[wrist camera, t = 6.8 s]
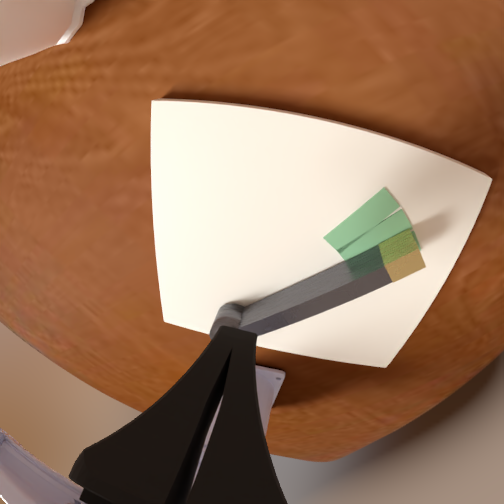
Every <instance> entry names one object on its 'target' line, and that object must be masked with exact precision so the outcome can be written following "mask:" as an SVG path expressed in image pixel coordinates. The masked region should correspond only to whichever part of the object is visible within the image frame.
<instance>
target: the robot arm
mask: <svg viewBox="0 0 504 504" xmlns="http://www.w3.org/2000/svg"><path fill="white" fill-rule="evenodd" d="M257 337H258V335H257V334H256V333H253V332H249V331H245V330H241V329H236V328H232V327H228V326H224V325H222V326H220V327H219V329H218V331H217V332H216V334H215V336H214V337H213V339H212V340H211V342H210V343H209V344H208V346H207V347H206V349H205V350H204V351H203V353H202V354H201V355H200V356H199V358H198V359H197V360H196V361H195V362H194V364H193V365H192V366H191V367H190V368H189V370H188V371H187V372H186V373H185V374H184V375H183V376H182V377H181V378H180V379H179V380H178V381H177V382H176V384H175V385H174V386H173V387H172V388H171V389H170V390H168V391H167V392H166V393H165V394H164V395H163V396H162V397H161V398H160V399H159V400H158V401H156V402H155V403H154V404H153V405H152V406H151V407H149V408H148V409H147V410H146V411H144V412H143V413H142V414H140V415H139V416H138V417H137V418H135V419H134V420H132V421H131V422H130V423H128V424H127V425H125V426H123V427H122V428H121V429H119V430H118V431H116V432H114V433H113V434H111V435H109V436H108V437H106V438H104V439H102V440H100V441H99V442H97V443H95V444H93V445H91V446H89V447H87V448H85V449H84V450H83V451H82V453H81V454H80V455H79V457H78V458H77V460H76V461H75V463H74V465H73V467H72V470H71V472H70V474H69V478H70V479H71V480H72V481H74V482H75V483H76V484H75V483H74V482H72V481H70V480H69V479H67V478H65V477H64V476H62V475H61V474H59V473H58V472H56V471H55V470H53V469H51V468H50V467H48V466H47V465H46V464H44V463H43V462H42V461H40V460H39V459H37V458H36V457H35V456H33V455H32V454H30V453H29V452H28V451H27V450H25V449H24V448H23V447H22V445H21V444H20V443H18V442H17V441H16V440H15V439H14V438H13V437H11V436H10V435H9V434H8V433H6V432H5V431H4V430H2V429H1V428H0V497H2V499H3V500H4V501H5V502H6V503H7V504H81V503H82V504H287V501H286V499H285V497H284V494H283V492H282V489H281V487H280V484H279V481H278V479H277V476H276V473H275V470H274V467H273V463H272V460H271V457H270V454H269V450H268V446H267V442H266V438H265V435H266V431H267V426H268V421H269V416H270V411H271V407H272V405H273V403H274V401H275V399H276V396H277V394H278V392H279V389H280V387H281V385H282V383H283V380H284V378H285V372H284V371H281V370H276V369H271V368H267V367H262V366H257V365H255V356H256V343H257ZM77 484H78V485H77ZM79 485H80V486H79ZM82 487H83V488H82Z"/></svg>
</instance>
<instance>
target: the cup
mask: <svg viewBox="0 0 504 504" xmlns="http://www.w3.org/2000/svg"><path fill="white" fill-rule="evenodd" d="M94 1H95V0H0V66H2V65H5V64H7V63H10V62H13V61H15V60H18V59H21V58H24V57H27V56H30V55H33V54H35V53H38V52H40V51H42V50H45V49H47V48H49V47H52V46H54V45H59V44H64V43H68V42H69V41H70V40H71V38H72V37H73V36H74V34H75V33H76V32H77V31H78V29H79V28H80V27H81V26H82V24H83V18H84V13H85V8H86V7H87V6H88V5H90V4H91V3H93V2H94Z"/></svg>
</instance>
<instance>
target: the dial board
mask: <svg viewBox="0 0 504 504" xmlns="http://www.w3.org/2000/svg"><path fill="white" fill-rule="evenodd" d="M151 182H152V205H153V222H154V236H155V248H156V259H157V269H158V279H159V287H160V295H161V303H162V311H163V318H164V322H167V323H171V324H174V325H178V326H181V327H185V328H188V329H192V330H195V331H199V332H203V333H206V334H209V333H210V330H211V327H212V325H213V322H214V320H215V317H216V315H217V312H218V310H219V308H220V307H221V306H223V305H225V304H239V305H242V306H244V307H245V306H247V305H250V304H252V303H254V302H257V301H259V300H261V299H264V298H266V297H268V296H271V295H273V294H275V293H277V292H280V291H282V290H284V289H286V288H289V287H291V286H293V285H295V284H297V283H300V282H302V281H304V280H306V279H308V278H311V277H313V276H315V275H317V274H319V273H321V272H324V271H326V270H328V269H330V268H332V267H334V266H336V265H338V264H341V263H343V262H345V261H347V260H349V259H351V258H353V257H355V256H357V255H359V254H361V253H363V252H365V251H367V250H369V249H371V248H373V247H375V246H377V245H378V244H380V243H382V242H384V241H386V240H388V239H390V238H392V237H394V236H396V235H398V234H400V233H401V232H403V231H405V230H407V229H410V231H411V233H412V235H413V237H414V239H415V242H416V244H417V246H418V248H419V250H420V253H421V255H422V258H423V260H424V263H425V265H426V267H425V268H423V269H421V270H419V271H417V272H415V273H413V274H411V275H409V276H407V277H405V278H402V279H400V280H398V281H396V282H394V283H393V282H392V283H390V284H388V285H386V286H384V287H381V288H379V289H377V290H375V291H372V292H370V293H368V294H366V295H363V296H361V297H359V298H356V299H354V300H352V301H349V302H347V303H344V304H342V305H340V306H337V307H335V308H332V309H330V310H327V311H325V312H322V313H320V314H317V315H315V316H312V317H310V318H307V319H304V320H302V321H299V322H296V323H294V324H291V325H288V326H286V327H283V328H280V329H277V330H275V331H272V332H269V333H266V334H263V335H260V336H258V337H257V343H256V346H260V347H264V348H269V349H274V350H279V351H284V352H289V353H294V354H299V355H304V356H310V357H315V358H321V359H327V360H333V361H340V362H346V363H353V364H360V365H368V366H375V367H384V368H386V367H387V366H388V365H389V363H390V362H391V361H392V359H393V358H394V357H395V356H396V354H397V353H398V352H399V350H400V349H401V348H402V346H403V345H404V343H405V342H406V341H407V339H408V338H409V337H410V335H411V334H412V332H413V331H414V329H415V328H416V326H417V325H418V324H419V322H420V321H421V319H422V318H423V316H424V315H425V313H426V311H427V310H428V308H429V307H430V305H431V304H432V302H433V300H434V299H435V297H436V296H437V294H438V292H439V291H440V289H441V287H442V285H443V284H444V282H445V280H446V279H447V277H448V275H449V273H450V271H451V270H452V268H453V266H454V264H455V262H456V260H457V258H458V257H459V255H460V253H461V251H462V249H463V247H464V245H465V243H466V241H467V239H468V236H469V234H470V232H471V230H472V228H473V226H474V224H475V221H476V219H477V217H478V214H479V212H480V210H481V207H482V205H483V203H484V200H485V198H486V195H487V192H488V190H489V187H490V184H491V182H492V178H490V177H489V176H488V175H486V174H485V173H483V172H481V171H479V170H477V169H475V168H473V167H471V166H468V165H466V164H464V163H461V162H459V161H457V160H454V159H452V158H450V157H447V156H445V155H442V154H440V153H437V152H434V151H432V150H429V149H426V148H424V147H421V146H418V145H415V144H413V143H410V142H407V141H404V140H401V139H398V138H395V137H392V136H388V135H385V134H382V133H378V132H375V131H372V130H368V129H365V128H361V127H357V126H353V125H350V124H346V123H342V122H338V121H333V120H329V119H325V118H320V117H316V116H311V115H306V114H301V113H296V112H290V111H284V110H279V109H272V108H266V107H259V106H252V105H244V104H236V103H226V102H216V101H204V100H188V99H163V98H160V99H156V100H152V107H151Z"/></svg>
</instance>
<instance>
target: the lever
mask: <svg viewBox="0 0 504 504" xmlns="http://www.w3.org/2000/svg"><path fill="white" fill-rule="evenodd" d="M425 267H426V265H425V263H424V260H423V258H422V255H421V253H420V250H419V248H418V246H417V244H416V242H415V239H414V237H413V235H412V233H411V231H410V229H407V230H405V231H403V232H401V233H400V234H398V235H396V236H394V237H392V238H390V239H388V240H386V241H384V242H382V243H380V244H378V245H377V246H375V247H373V248H371V249H369V250H367V251H365V252H363V253H361V254H359V255H357V256H355V257H353V258H351V259H349V260H347V261H345V262H343V263H341V264H338V265H336V266H334V267H332V268H330V269H328V270H326V271H324V272H321V273H319V274H317V275H315V276H313V277H311V278H308V279H306V280H304V281H302V282H300V283H297V284H295V285H293V286H291V287H289V288H286V289H284V290H282V291H280V292H277V293H275V294H273V295H271V296H268V297H266V298H264V299H261V300H259V301H257V302H254V303H252V304H250V305H247V306H245V307H244V306H242V305H239V304H225V305H223V306H221V307H220V308H219V310H218V312H217V315H216V317H215V320H214V322H213V325H212V327H211V330H210V333H209V335H210V338H211V340H212V339H213V337H214V336H215V334H216V332H217V331H218V329H219V327H220V326H222V325H224V326H228V327H232V328H236V329H241V330H245V331H249V332H253V333H256V334H257V335H258V336H260V335H263V334H266V333H269V332H272V331H275V330H277V329H280V328H283V327H286V326H288V325H291V324H294V323H296V322H299V321H302V320H304V319H307V318H310V317H312V316H315V315H317V314H320V313H322V312H325V311H327V310H330V309H332V308H335V307H337V306H340V305H342V304H344V303H347V302H349V301H352V300H354V299H356V298H359V297H361V296H363V295H366V294H368V293H370V292H372V291H375V290H377V289H379V288H381V287H384V286H386V285H388V284H390V283H392V282H393V283H394V282H396V281H398V280H400V279H402V278H405V277H407V276H409V275H411V274H413V273H415V272H417V271H419V270H421V269H423V268H425Z"/></svg>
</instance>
